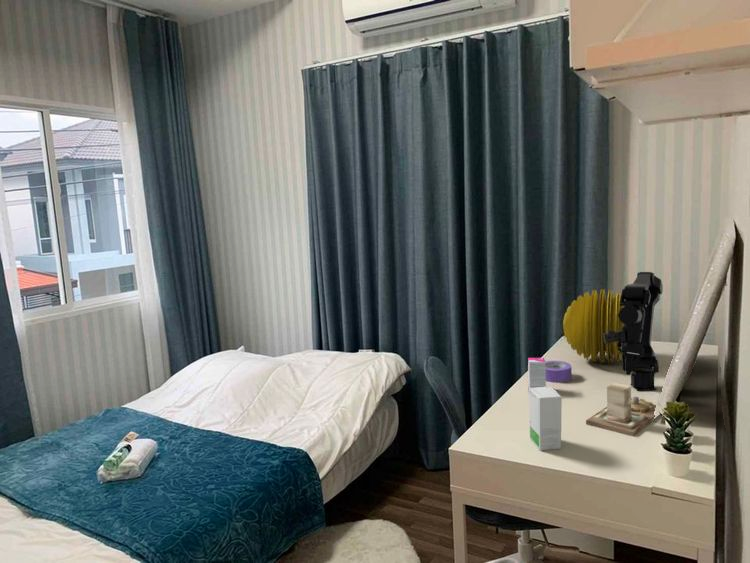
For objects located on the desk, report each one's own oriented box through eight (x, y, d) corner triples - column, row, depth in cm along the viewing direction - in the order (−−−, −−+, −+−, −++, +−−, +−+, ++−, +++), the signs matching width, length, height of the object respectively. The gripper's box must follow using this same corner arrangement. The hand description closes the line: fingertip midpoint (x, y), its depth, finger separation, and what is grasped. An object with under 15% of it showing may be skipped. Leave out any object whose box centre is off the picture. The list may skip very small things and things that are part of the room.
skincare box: (529, 439, 162) (527, 387, 160) (551, 436, 163) (550, 385, 160) (540, 451, 154) (538, 397, 152) (563, 449, 154) (562, 395, 152)
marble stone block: (613, 412, 174) (612, 381, 172) (635, 417, 168) (635, 385, 167) (602, 419, 169) (602, 387, 168) (625, 424, 164) (625, 392, 162)
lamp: (643, 376, 206) (643, 296, 202) (559, 371, 220) (557, 295, 215) (644, 354, 233) (644, 282, 229) (568, 350, 246) (567, 282, 242)
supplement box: (546, 393, 197) (545, 361, 195) (529, 393, 198) (528, 362, 197) (545, 387, 203) (544, 357, 201) (528, 387, 204) (527, 357, 202)
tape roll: (567, 384, 205) (567, 371, 204) (535, 381, 211) (535, 368, 210) (574, 374, 215) (574, 362, 214) (543, 371, 221) (543, 359, 220)
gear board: (621, 400, 185) (620, 388, 185) (665, 410, 175) (665, 397, 174) (586, 424, 169) (585, 410, 169) (632, 436, 159) (632, 422, 158)
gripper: (604, 319, 191) (597, 365, 191) (608, 321, 173) (601, 371, 173) (640, 325, 187) (633, 371, 187) (647, 327, 169) (640, 378, 170)
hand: (626, 372), depth 180 cm, fingers open, 9 cm apart
